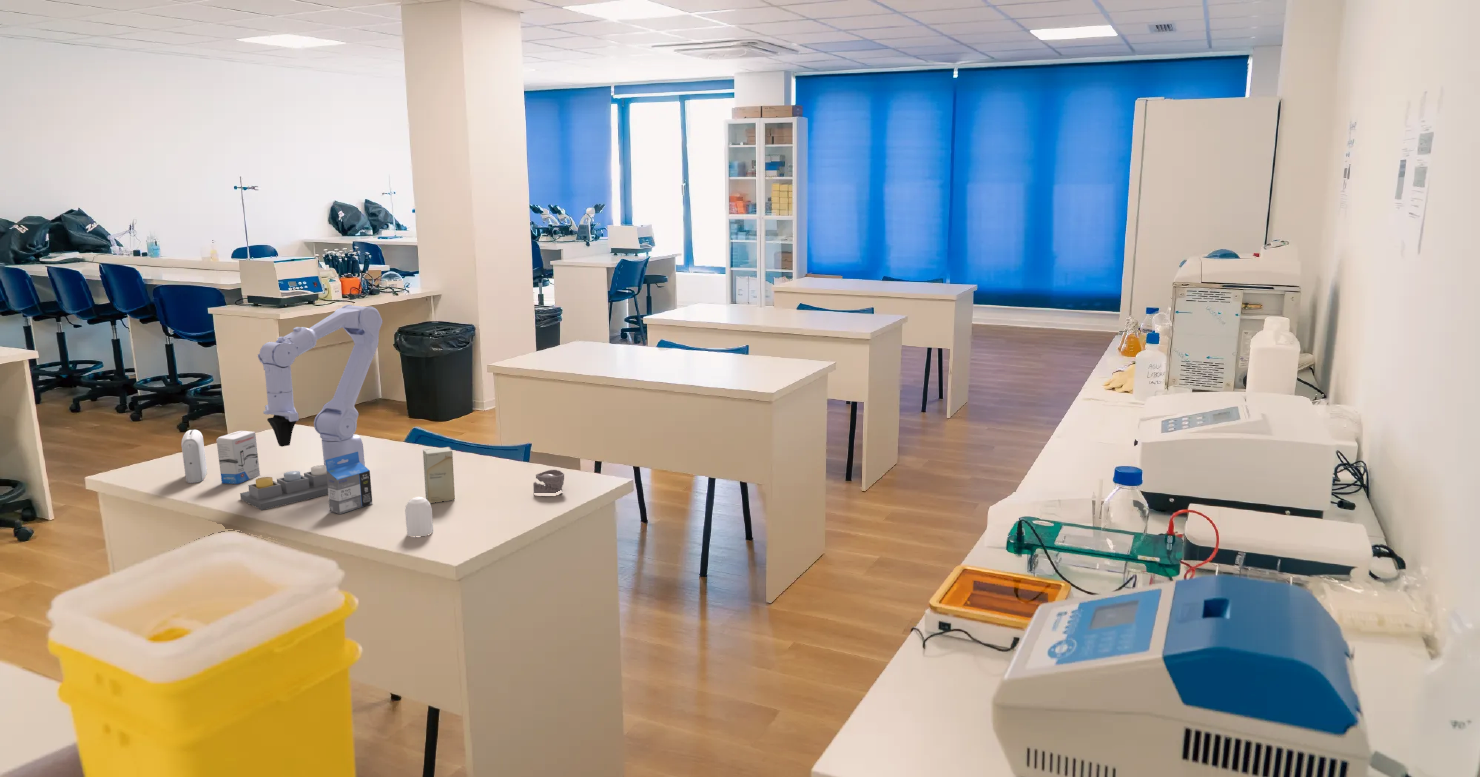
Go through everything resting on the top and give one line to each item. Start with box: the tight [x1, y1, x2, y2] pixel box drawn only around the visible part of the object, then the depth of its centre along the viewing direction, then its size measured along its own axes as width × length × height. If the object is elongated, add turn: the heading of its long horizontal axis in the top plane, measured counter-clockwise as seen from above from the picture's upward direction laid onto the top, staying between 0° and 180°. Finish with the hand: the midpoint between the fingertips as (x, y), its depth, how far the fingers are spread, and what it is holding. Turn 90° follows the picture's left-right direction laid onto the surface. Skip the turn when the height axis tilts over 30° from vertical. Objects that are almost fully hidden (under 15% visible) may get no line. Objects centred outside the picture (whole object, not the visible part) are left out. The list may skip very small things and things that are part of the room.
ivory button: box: [310, 464, 327, 476], centre depth 233 cm, size 4×4×3 cm
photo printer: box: [181, 429, 208, 484], centre depth 242 cm, size 10×4×12 cm, turn 23°
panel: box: [239, 471, 328, 511], centre depth 229 cm, size 20×12×4 cm, turn 138°
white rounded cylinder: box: [404, 496, 434, 538], centre depth 203 cm, size 5×5×8 cm
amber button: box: [255, 476, 274, 489], centre depth 224 cm, size 4×4×3 cm
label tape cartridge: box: [325, 451, 373, 515], centre depth 218 cm, size 9×4×12 cm, turn 148°
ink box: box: [216, 430, 261, 485], centre depth 241 cm, size 9×5×12 cm, turn 168°
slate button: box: [283, 470, 302, 482], centre depth 229 cm, size 4×4×3 cm
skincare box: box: [422, 446, 456, 504], centre depth 224 cm, size 6×4×12 cm
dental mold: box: [532, 469, 565, 494], centre depth 229 cm, size 8×7×5 cm
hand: (284, 445), depth 234 cm, fingers closed
